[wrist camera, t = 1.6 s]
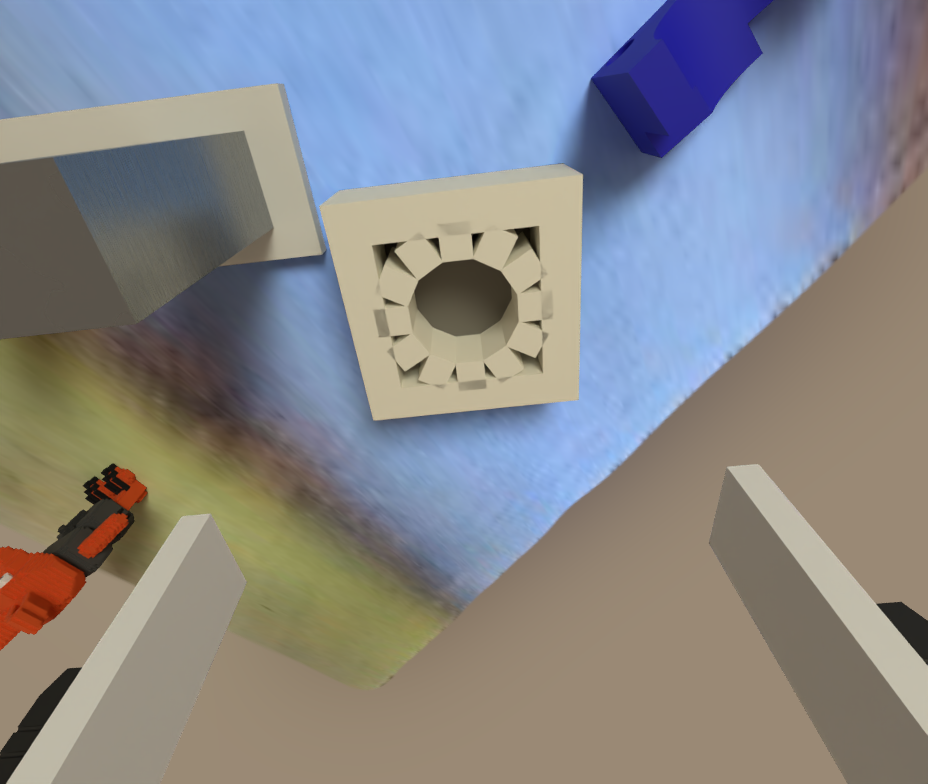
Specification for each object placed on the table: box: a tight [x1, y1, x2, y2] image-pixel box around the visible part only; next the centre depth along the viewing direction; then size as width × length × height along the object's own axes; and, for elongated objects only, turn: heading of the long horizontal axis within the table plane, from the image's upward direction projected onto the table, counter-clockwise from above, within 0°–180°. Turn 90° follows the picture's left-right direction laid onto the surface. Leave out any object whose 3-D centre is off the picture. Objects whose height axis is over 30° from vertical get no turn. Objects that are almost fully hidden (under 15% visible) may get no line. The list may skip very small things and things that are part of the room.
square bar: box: [0, 131, 274, 339], centre depth 19 cm, size 5×5×13 cm
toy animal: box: [0, 464, 148, 650], centre depth 31 cm, size 8×6×12 cm
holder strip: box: [0, 83, 326, 266], centre depth 25 cm, size 8×20×1 cm, turn 96°
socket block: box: [319, 163, 583, 421], centre depth 27 cm, size 12×12×4 cm
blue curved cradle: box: [591, 0, 773, 158], centre depth 20 cm, size 12×4×6 cm, turn 134°
